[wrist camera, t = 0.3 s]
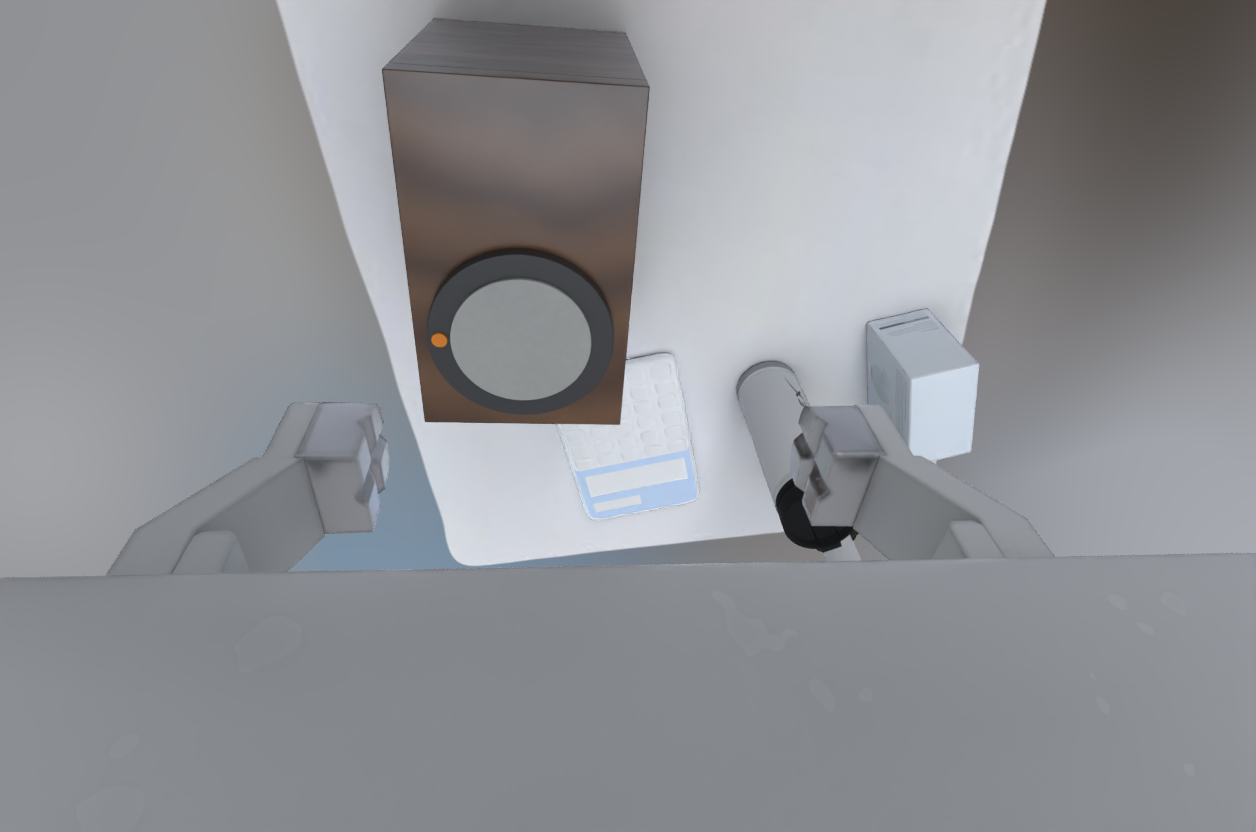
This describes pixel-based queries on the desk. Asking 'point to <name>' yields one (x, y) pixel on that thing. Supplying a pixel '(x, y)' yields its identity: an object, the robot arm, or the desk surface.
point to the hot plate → (520, 331)
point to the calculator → (636, 447)
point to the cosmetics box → (923, 383)
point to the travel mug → (782, 448)
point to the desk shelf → (518, 174)
